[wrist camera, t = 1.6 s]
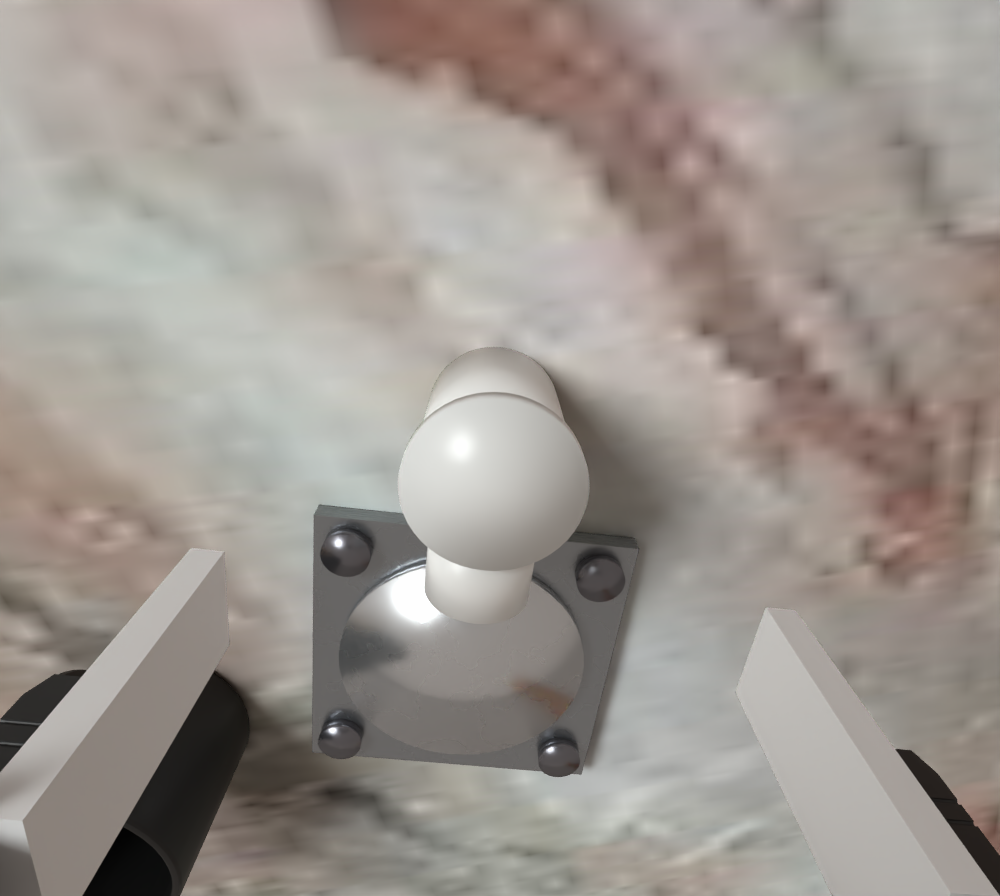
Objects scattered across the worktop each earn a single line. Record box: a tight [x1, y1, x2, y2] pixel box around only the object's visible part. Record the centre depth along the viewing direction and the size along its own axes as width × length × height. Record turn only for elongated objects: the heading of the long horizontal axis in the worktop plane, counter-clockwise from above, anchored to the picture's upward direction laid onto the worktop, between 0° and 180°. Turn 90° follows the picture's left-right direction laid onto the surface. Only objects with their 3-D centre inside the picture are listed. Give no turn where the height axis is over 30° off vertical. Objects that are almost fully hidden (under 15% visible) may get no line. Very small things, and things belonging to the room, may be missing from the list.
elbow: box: [398, 347, 590, 624], centre depth 25 cm, size 9×7×8 cm
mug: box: [59, 670, 249, 896], centre depth 31 cm, size 9×12×9 cm
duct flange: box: [312, 505, 639, 777], centre depth 33 cm, size 16×16×2 cm
